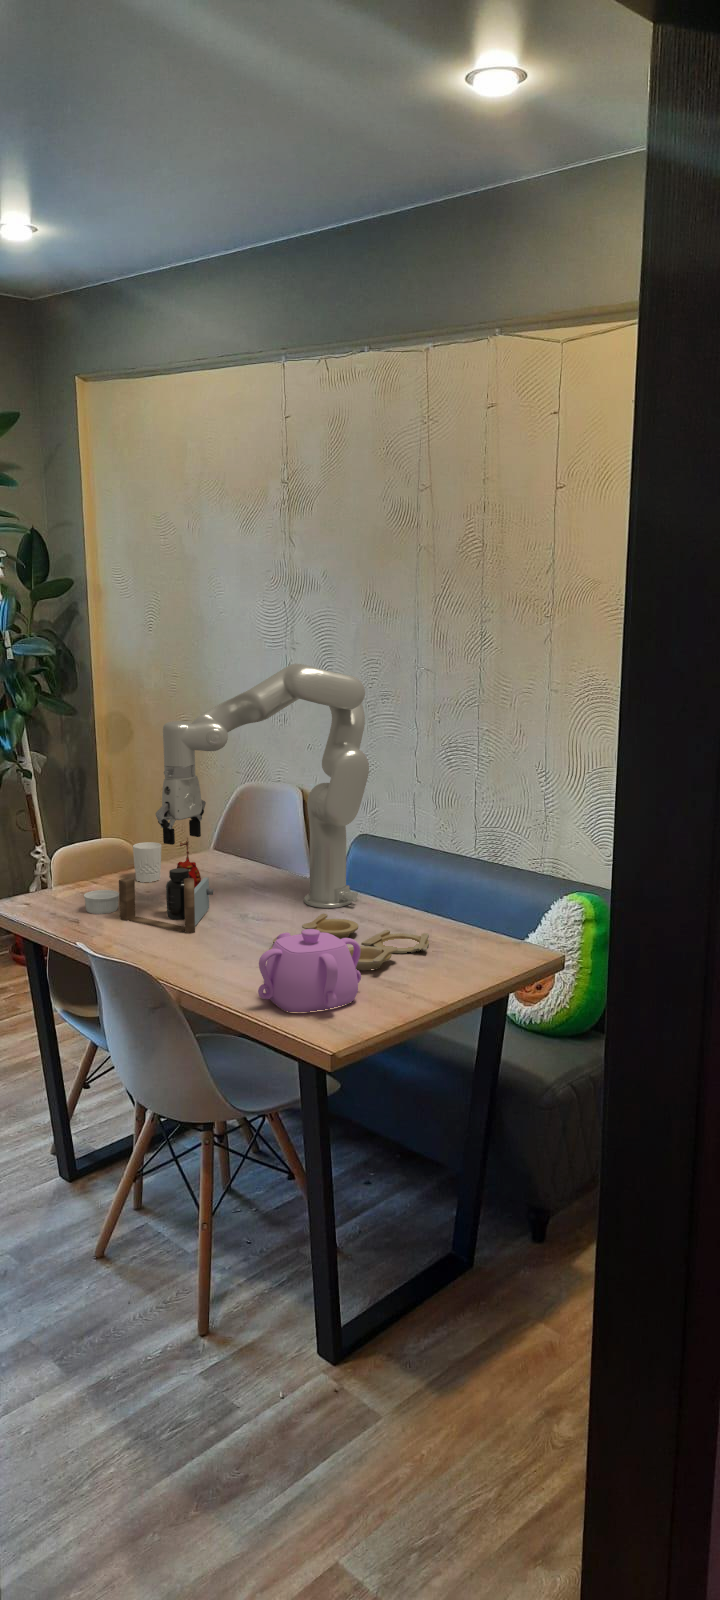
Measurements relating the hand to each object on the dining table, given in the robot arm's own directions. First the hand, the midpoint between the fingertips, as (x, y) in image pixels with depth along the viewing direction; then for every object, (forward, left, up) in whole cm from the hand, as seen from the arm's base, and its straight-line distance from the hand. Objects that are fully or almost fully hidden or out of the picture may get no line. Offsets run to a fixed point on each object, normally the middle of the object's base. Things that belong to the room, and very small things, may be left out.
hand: (182, 840), depth 277 cm
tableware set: (-49, -1, -20) cm, 53 cm away
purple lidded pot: (-58, +29, -20) cm, 68 cm away
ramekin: (+21, +7, -20) cm, 30 cm away
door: (-6, 0, -19) cm, 20 cm away
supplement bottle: (+1, +1, -20) cm, 20 cm away
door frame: (0, +9, -20) cm, 22 cm away
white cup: (+32, -22, -20) cm, 44 cm away
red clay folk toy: (+13, -17, -20) cm, 29 cm away
